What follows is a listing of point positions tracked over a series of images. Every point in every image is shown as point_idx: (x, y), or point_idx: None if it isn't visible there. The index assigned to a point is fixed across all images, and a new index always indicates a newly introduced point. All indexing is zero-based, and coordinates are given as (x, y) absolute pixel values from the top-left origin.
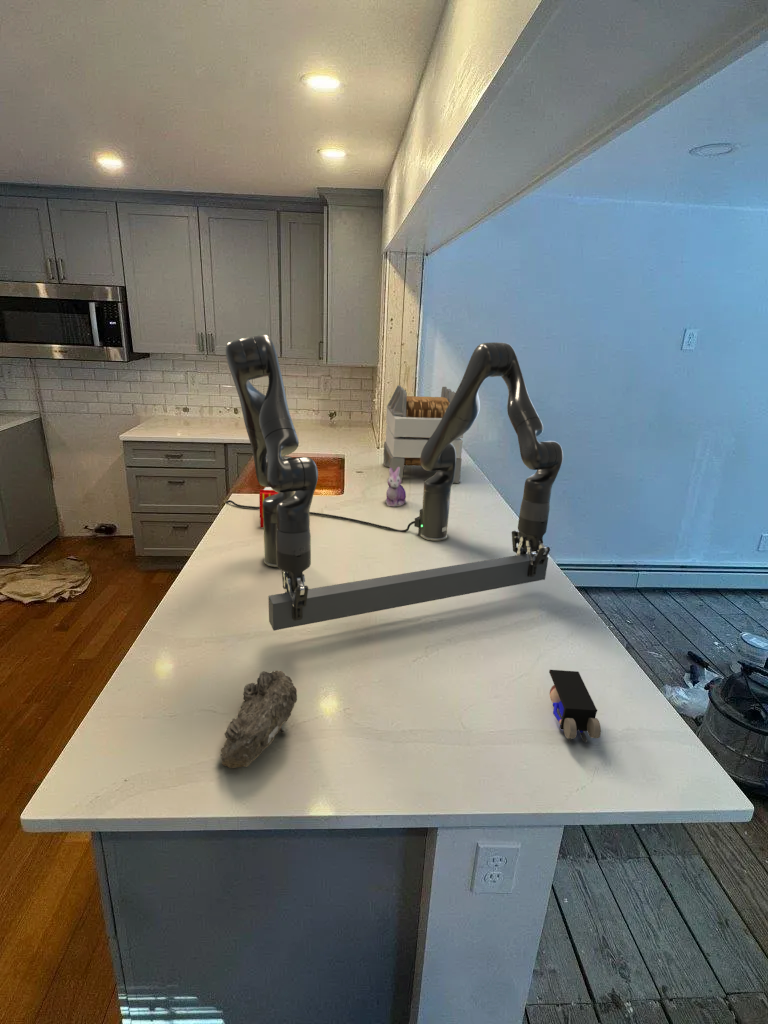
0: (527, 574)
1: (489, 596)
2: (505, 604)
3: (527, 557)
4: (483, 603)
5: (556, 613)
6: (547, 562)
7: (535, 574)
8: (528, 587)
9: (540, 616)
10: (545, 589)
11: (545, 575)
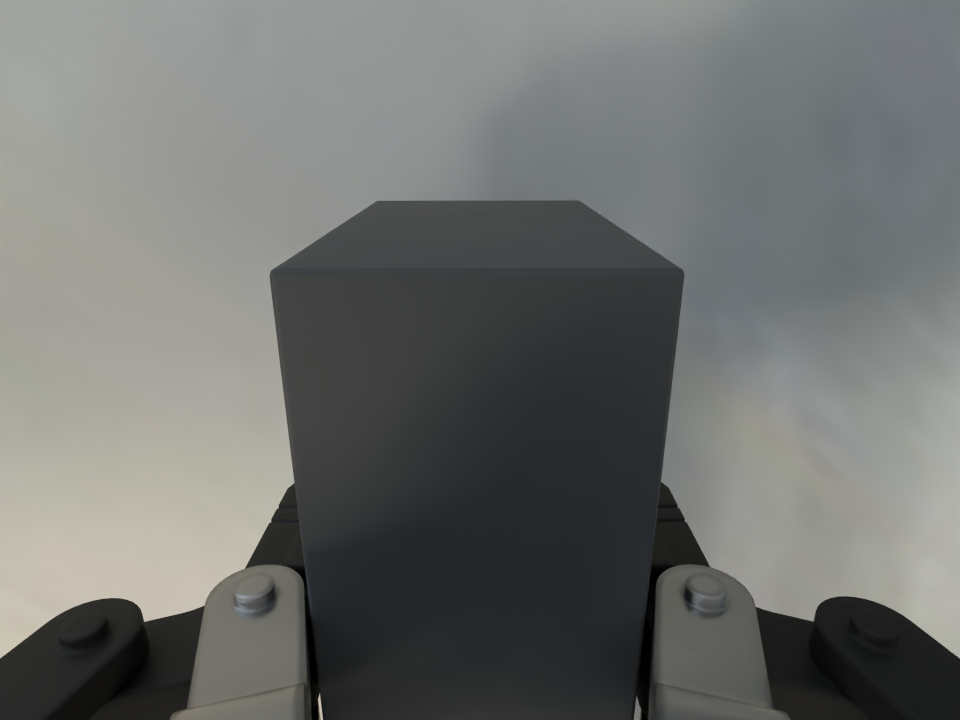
0: None
1: None
2: None
3: (490, 700)
4: None
5: (859, 277)
6: (644, 248)
7: (662, 489)
8: (350, 193)
9: (818, 433)
10: (443, 38)
11: (590, 208)
